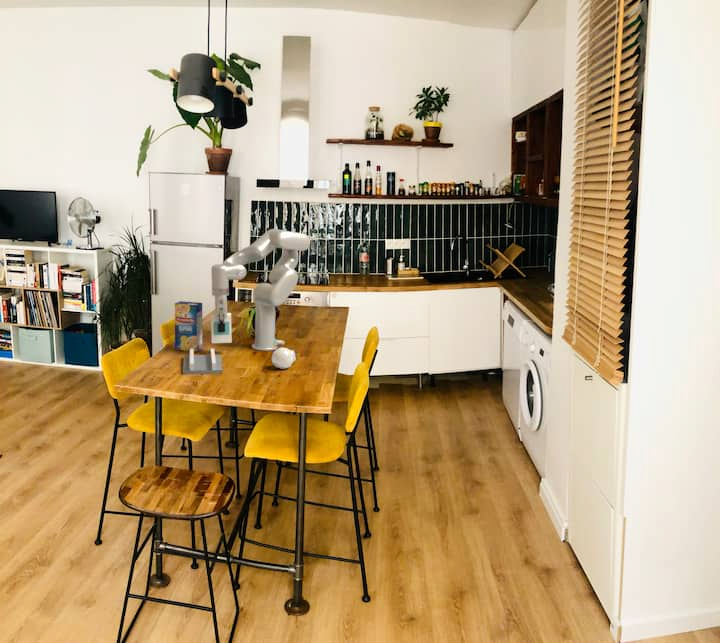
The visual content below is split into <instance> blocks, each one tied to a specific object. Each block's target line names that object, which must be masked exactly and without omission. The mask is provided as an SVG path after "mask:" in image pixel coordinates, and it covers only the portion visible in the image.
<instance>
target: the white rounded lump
mask: <svg viewBox="0 0 720 643" xmlns="http://www.w3.org/2000/svg"><path fill="white" fill-rule="evenodd" d="M296 360H298V355H297V352H296V350H295V349H294V350H293V349H289V348H287V347H278V348H277V349H275V350H273V352H272V354H271V362H272V364H273V366H274V367H275V368H277V369H279V368H280V369H279V370H286V369H288V368H289V367H291V366H292V364H293V362H295V361H296Z"/></svg>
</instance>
